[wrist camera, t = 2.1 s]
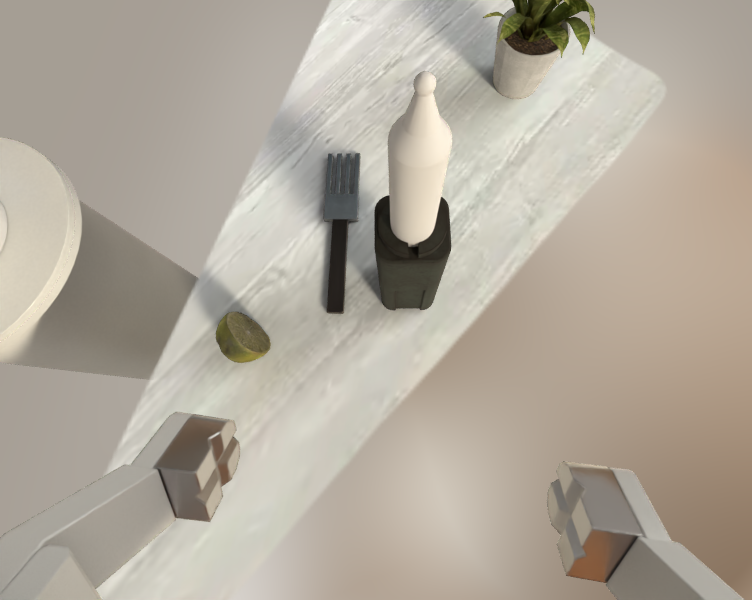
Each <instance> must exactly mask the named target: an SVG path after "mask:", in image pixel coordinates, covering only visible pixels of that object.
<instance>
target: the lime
mask: <svg viewBox="0 0 752 600" xmlns="http://www.w3.org/2000/svg"><path fill="white" fill-rule="evenodd" d="M216 340H217V343H218V344H219V346H220V349H221V352H222V353H223V354H224V355H225V356H226V357H227V358H228V359H230V360H232V361H234V362H239V363H243V362H250V361H254V360H256V359H258V358H260V357H262V356H264V355H265V354H266V353H267V352H268V351H269V349H270V345H271V343H270V339H269V337H268V335H267V334H266V333H265V332H264V331H263V329H262V328H261V327H260V326H259V325H258V324H257V323H256V322H254V321H253V320H251V319H250V318H249V317H248V316H247V315H244V314H242V313H239V312H229V313H227V314H226V315H225V316H224V317H223V318H222V320H221V321H220V323H219V325H218V328H217V331H216Z"/></svg>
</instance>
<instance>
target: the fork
mask: <svg viewBox="0 0 752 600" xmlns="http://www.w3.org/2000/svg"><path fill="white" fill-rule="evenodd" d="M333 159H334V157H333V154H328V167H327V181H326V194H325V203H324V217H323V219H324V221H325V222H333V224H332V240H331V256H330V271H329V287H328V302H327V313H331V314H343V313H344V300H345V281H346V261H347V242H348V222H358V210H359V177H360V153H356V154H355V174H354V194H350V175H351V154H346V171H345V189H344V194H340V191H341V174H342V154H337V169H336V184H335V194H331V189H332V174H333Z"/></svg>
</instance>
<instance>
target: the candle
mask: <svg viewBox="0 0 752 600" xmlns="http://www.w3.org/2000/svg"><path fill="white" fill-rule="evenodd" d="M413 85H414V89H415V93H414V95H413V97H412V100H411V102H410V104H409V106H408V109H407V111H406V113H405V114H404V115H402V116H401V117H400V118H399V119H398V120H397V121H396V122H395V123H394V124H393V125H392V128H391V130H390V132H389V136H388V164H389V194H390V195H389V196H385V197H383V198H382V199H380V200H379V201H378V203H377V204H376V207H375V253H376V261H377V268H378V275H379V283H380V290H381V297H382V303H383V305H384V306H385V307H386V308H387V309H390V310H396V308H420V310H424V309H427V308H429V307H430V306H431V305H432V303H433V300H434V297H435V295H436V292H437V289H438V286H439V283H440V280H441V277H442V274H443V271H444V269H445V266H446V263H447V260H448V257H449V254H450V251H451V234H450V217H449V207H448V204H447V202H446V200H445V199H444V198H442V197H441V194H442V190H443V185H444V180H445V175H446V171H447V166H448V161H449V156H450V152H451V147H452V134H451V130H450V128H449V126H448V124H447V123H446V121H445V120H444V119H443V118H442V117H441V116H440V115H439V112H438V109H437V105H436V101H435V97H434V94H433V91H434V89H435V87H436V79H435V77H434V75H433V74H432V73H430V72H428V71H423V72H421V73H419V74H418V75H417V76H416V77H415V79H414V84H413Z"/></svg>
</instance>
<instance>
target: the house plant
mask: <svg viewBox="0 0 752 600" xmlns="http://www.w3.org/2000/svg"><path fill="white" fill-rule="evenodd" d="M512 1H513V3H514V6H515V7H513V8H511V9H510V10H509V11H507V12H506V13H505V14H504V15H503V14H501V13H499V12H494V13H490V14H487V15H486V16H485V17H483V18H486V17H491V16H502V18H501V20H500V22H499V25H498V32H497V42H496V52H495V62H494V72H493V84H494V87H495V88H496V90H497V91H498V92H499V93H500V94H502V95H503V96H506V97H508V98H513V99H521V98H525V97H527V96H529V95H531V94H532V93H533V92H535V90H536V89H537V87H538V86H539V84H540V83H541V81H542V80H543V78H544V77H545V75H546V74H547V72H548V71H549V69H550V68H551V66H552V65H553V63H554V62H555V60H556V59H557V57H558V56H559V54H560V53H561V58H562V54H563V51H564V49H565V48H566V46H567V44H568V42H569V37H570V26H571V27H572V29H573V31H574V33H575V35H576V37H577V39H578V40H579V42H580V43H581V45H582V48H583V53H584V50H585V48H586V46H587V44H588V42H589V39H590V31H589V28H588V26H587V24H586V23H585V22H583V21H582V20H581V19H580V18H577V17H571V16H573V15H575V14H577V13H579V12H581V11H587V12H589V14H590V20H591V25H592V28H593V31H594V18H595V14H594V9H593V7H592V6H591V5H590V4H589V3H588V2H587V1H586V0H564V1H565V2H563V3H562V4H560V5H559V3H560V2H561V1H562V0H528V3H527V0H512ZM557 5H558V6H557ZM556 6H557V7H556ZM555 7H556V8H555ZM569 17H571V18H569ZM569 24H570V25H569Z"/></svg>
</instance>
